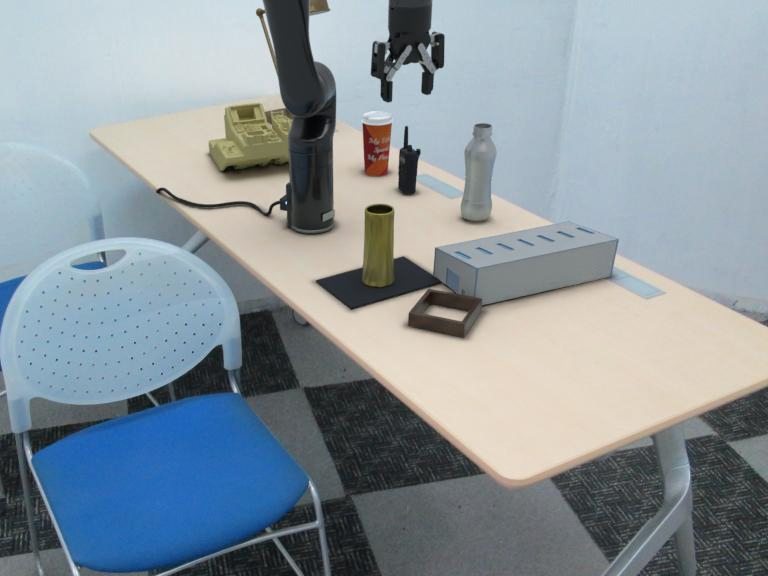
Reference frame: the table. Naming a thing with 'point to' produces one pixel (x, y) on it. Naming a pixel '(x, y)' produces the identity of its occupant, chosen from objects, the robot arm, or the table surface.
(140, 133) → the table surface
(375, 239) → the vase
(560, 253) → the warehouse
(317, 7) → the lamp
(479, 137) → the plastic bottle
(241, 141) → the control panel
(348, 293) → the mat
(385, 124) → the paper cup
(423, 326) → the holder
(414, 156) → the two-way radio
